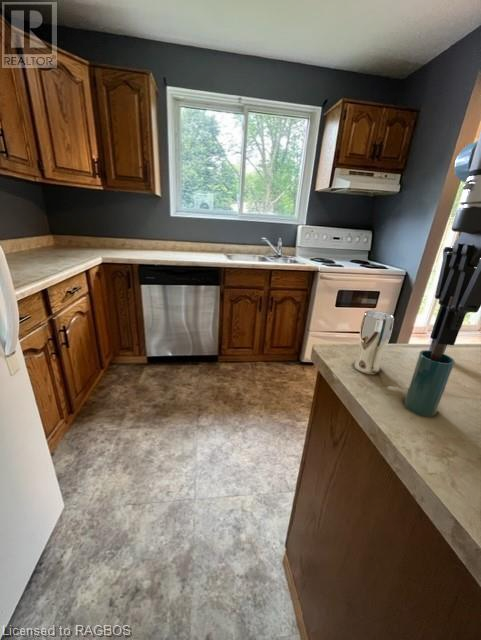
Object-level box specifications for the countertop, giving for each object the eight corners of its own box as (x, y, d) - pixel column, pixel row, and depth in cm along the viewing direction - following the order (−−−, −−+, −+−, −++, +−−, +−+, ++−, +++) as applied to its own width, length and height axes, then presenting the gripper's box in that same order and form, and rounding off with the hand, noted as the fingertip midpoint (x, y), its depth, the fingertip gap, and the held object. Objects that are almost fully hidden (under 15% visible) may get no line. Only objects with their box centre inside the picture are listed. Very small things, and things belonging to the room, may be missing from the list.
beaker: (427, 401, 59) (444, 352, 55) (441, 418, 54) (461, 365, 50) (400, 397, 60) (415, 348, 56) (411, 414, 55) (428, 362, 50)
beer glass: (356, 359, 76) (367, 308, 70) (383, 367, 72) (397, 314, 67) (349, 369, 70) (361, 315, 65) (378, 378, 67) (393, 322, 61)
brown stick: (427, 389, 56) (459, 296, 49) (431, 394, 54) (465, 299, 47) (416, 387, 56) (447, 295, 49) (421, 393, 55) (453, 298, 48)
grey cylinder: (438, 355, 81) (445, 333, 78) (444, 361, 77) (452, 338, 75) (425, 353, 81) (431, 332, 79) (430, 359, 78) (438, 337, 75)
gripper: (438, 208, 50) (405, 325, 59) (492, 203, 37) (439, 356, 45) (482, 210, 49) (442, 329, 58) (556, 205, 36) (489, 362, 44)
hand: (441, 341), depth 51 cm, fingers closed on brown stick, 2 cm apart
